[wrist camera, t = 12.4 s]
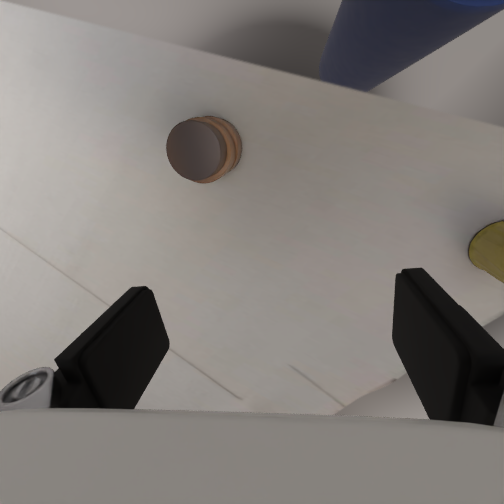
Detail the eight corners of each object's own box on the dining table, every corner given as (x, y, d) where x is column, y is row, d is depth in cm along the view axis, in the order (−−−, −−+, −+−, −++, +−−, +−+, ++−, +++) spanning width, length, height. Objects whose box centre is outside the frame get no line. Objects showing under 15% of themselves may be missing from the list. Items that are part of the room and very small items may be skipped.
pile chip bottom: (236, 112, 29) (231, 110, 26) (246, 169, 31) (243, 172, 29) (184, 124, 30) (175, 122, 28) (198, 178, 32) (190, 181, 30)
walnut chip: (220, 116, 24) (213, 114, 22) (232, 172, 26) (226, 175, 24) (170, 127, 25) (158, 126, 23) (184, 180, 27) (175, 184, 25)
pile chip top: (229, 113, 26) (223, 110, 24) (240, 174, 29) (236, 178, 26) (173, 125, 28) (163, 124, 25) (188, 183, 30) (180, 187, 28)
